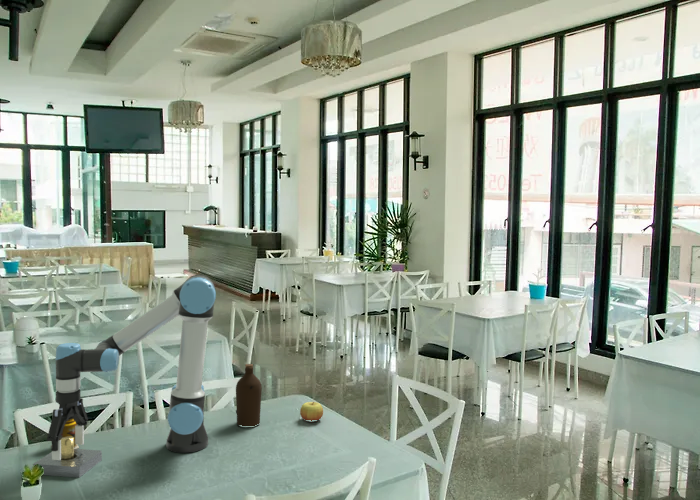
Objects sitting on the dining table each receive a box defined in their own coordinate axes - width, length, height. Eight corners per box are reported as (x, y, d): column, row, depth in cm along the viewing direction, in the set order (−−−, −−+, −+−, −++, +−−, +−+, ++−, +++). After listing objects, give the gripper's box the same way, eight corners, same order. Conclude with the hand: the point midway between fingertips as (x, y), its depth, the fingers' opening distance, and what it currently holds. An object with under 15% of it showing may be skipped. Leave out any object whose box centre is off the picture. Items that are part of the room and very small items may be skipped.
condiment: (79, 448, 220) (79, 416, 219) (53, 453, 215) (53, 420, 214) (75, 441, 226) (75, 410, 225) (50, 446, 221) (50, 414, 220)
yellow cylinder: (76, 465, 205) (76, 436, 204) (69, 470, 201) (69, 441, 200) (65, 464, 205) (65, 436, 205) (58, 469, 201) (58, 440, 201)
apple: (327, 418, 258) (327, 400, 257) (316, 425, 249) (317, 406, 248) (306, 415, 262) (307, 397, 261) (295, 422, 253) (296, 403, 252)
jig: (101, 460, 210) (101, 450, 209) (79, 477, 196) (79, 467, 195) (58, 457, 211) (58, 447, 211) (33, 474, 197) (33, 463, 197)
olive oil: (266, 423, 250) (267, 364, 248) (247, 430, 241) (248, 369, 240) (249, 418, 256) (250, 360, 255) (229, 424, 248) (230, 364, 247)
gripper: (78, 379, 215) (78, 437, 216) (34, 400, 190) (34, 466, 191) (98, 380, 214) (98, 438, 215) (56, 401, 189) (57, 467, 190)
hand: (68, 451), depth 203 cm, fingers open, 13 cm apart
